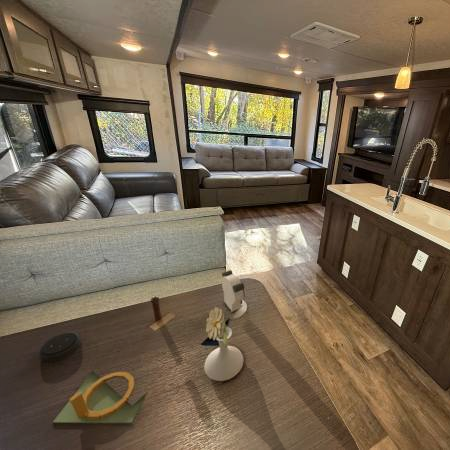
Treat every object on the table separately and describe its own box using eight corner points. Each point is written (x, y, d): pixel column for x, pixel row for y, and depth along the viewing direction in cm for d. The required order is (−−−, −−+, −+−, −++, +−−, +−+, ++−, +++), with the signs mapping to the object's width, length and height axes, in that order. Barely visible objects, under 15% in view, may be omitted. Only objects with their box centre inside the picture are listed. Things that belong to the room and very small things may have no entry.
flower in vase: (206, 353, 79) (201, 290, 69) (242, 347, 82) (242, 287, 72) (202, 394, 68) (194, 326, 58) (244, 386, 71) (244, 320, 61)
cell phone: (230, 315, 95) (230, 314, 95) (222, 346, 82) (222, 344, 82) (211, 315, 94) (211, 313, 94) (199, 346, 82) (199, 344, 81)
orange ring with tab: (66, 407, 62) (57, 387, 59) (119, 367, 72) (113, 349, 69) (92, 433, 57) (83, 413, 54) (144, 387, 67) (139, 369, 64)
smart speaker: (40, 351, 75) (36, 342, 73) (79, 335, 81) (75, 326, 79) (44, 371, 69) (39, 362, 68) (84, 352, 76) (81, 343, 74)
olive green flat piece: (53, 423, 59) (52, 422, 59) (92, 371, 71) (92, 370, 70) (131, 423, 60) (131, 422, 60) (157, 372, 72) (157, 371, 72)
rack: (140, 324, 87) (135, 299, 83) (161, 310, 94) (157, 286, 89) (155, 334, 84) (150, 308, 80) (176, 319, 91) (172, 294, 86)
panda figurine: (253, 312, 97) (253, 281, 91) (225, 324, 90) (224, 292, 84) (238, 295, 106) (238, 265, 100) (212, 305, 99) (210, 274, 93)
